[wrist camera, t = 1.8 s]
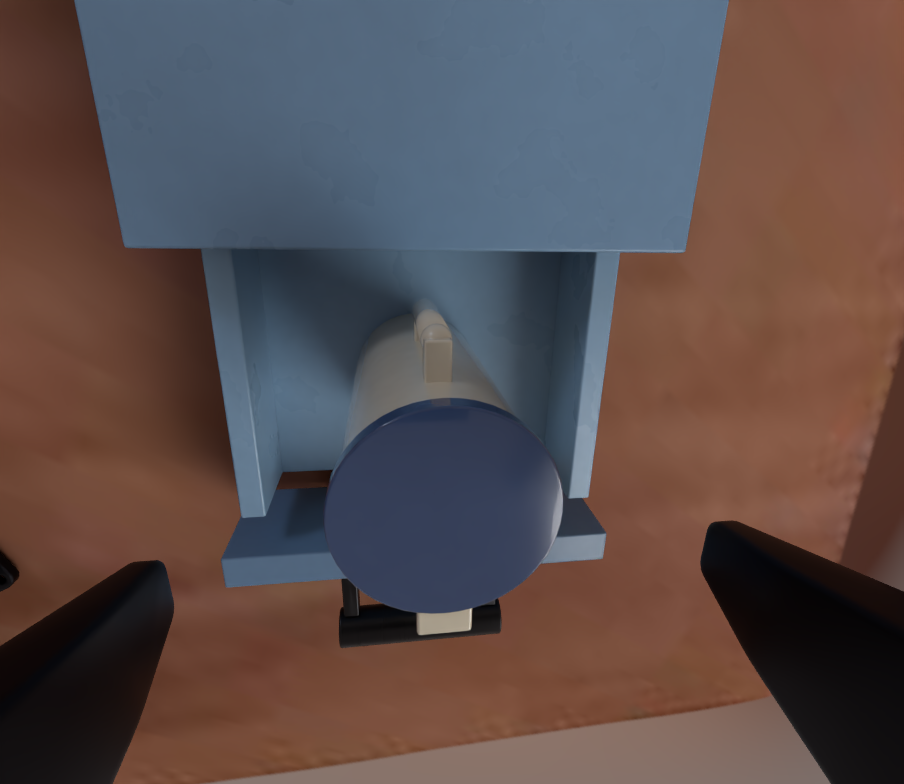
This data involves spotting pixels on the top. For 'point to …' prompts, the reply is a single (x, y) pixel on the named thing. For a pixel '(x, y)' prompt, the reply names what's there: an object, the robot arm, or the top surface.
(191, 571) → the top surface
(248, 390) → the drawer
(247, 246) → the cabinet
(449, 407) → the blue-lidded canister
